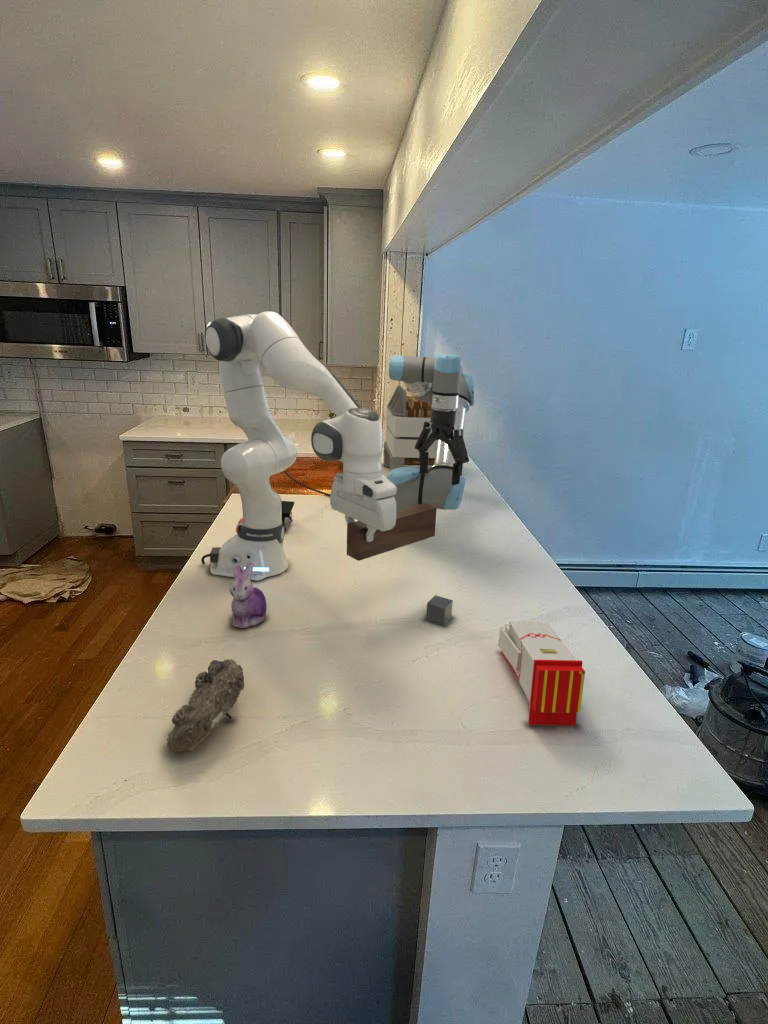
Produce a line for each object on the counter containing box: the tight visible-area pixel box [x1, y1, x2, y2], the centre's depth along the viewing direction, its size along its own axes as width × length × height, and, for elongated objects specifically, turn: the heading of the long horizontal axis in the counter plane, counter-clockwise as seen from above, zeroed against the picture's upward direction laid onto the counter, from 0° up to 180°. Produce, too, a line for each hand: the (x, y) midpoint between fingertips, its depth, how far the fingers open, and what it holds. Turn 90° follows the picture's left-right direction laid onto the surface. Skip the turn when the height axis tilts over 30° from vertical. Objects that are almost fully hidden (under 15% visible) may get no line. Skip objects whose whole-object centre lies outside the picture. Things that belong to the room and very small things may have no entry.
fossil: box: [166, 658, 245, 754], centre depth 106 cm, size 22×10×15 cm
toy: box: [497, 621, 586, 727], centre depth 121 cm, size 12×13×30 cm
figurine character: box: [281, 500, 295, 533], centre depth 201 cm, size 7×8×15 cm
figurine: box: [229, 563, 268, 629], centre depth 139 cm, size 9×10×15 cm
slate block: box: [425, 594, 454, 626], centre depth 145 cm, size 5×5×5 cm
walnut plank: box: [346, 503, 438, 562], centre depth 141 cm, size 4×26×8 cm, turn 132°
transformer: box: [383, 384, 465, 472], centre depth 268 cm, size 34×33×41 cm
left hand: (360, 536), depth 134 cm, fingers closed on walnut plank, 4 cm apart
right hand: (438, 478), depth 173 cm, fingers open, 13 cm apart
